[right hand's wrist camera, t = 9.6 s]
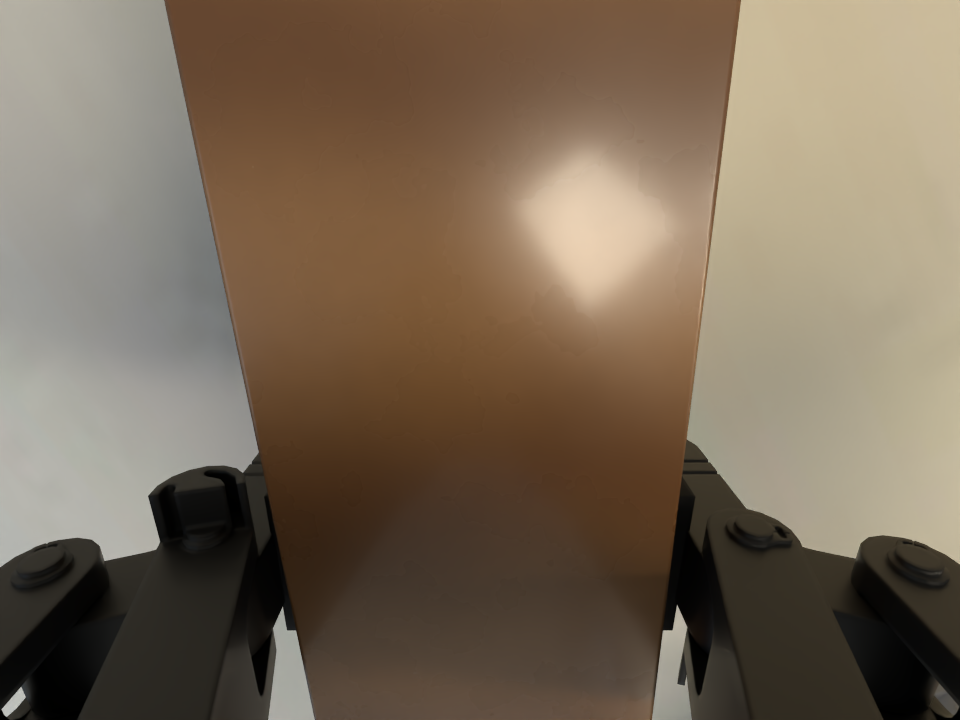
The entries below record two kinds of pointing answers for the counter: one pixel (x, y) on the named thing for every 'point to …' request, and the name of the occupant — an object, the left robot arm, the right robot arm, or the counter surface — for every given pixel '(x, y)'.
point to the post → (466, 328)
